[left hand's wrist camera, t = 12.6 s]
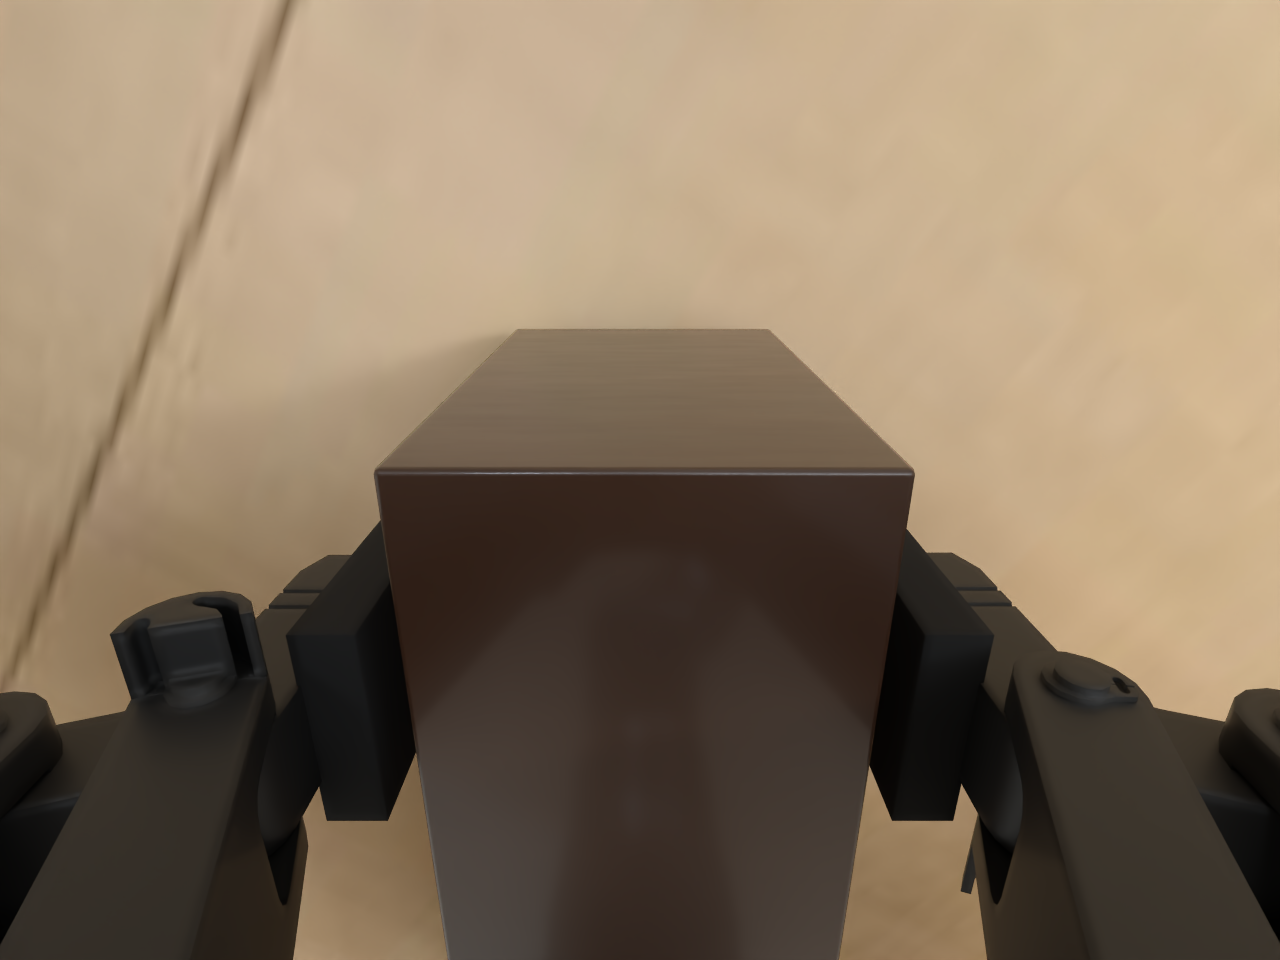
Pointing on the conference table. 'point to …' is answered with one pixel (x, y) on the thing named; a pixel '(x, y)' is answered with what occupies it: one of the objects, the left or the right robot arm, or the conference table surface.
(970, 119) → the conference table surface
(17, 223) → the conference table surface
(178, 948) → the left robot arm
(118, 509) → the conference table surface
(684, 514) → the brown metal block
